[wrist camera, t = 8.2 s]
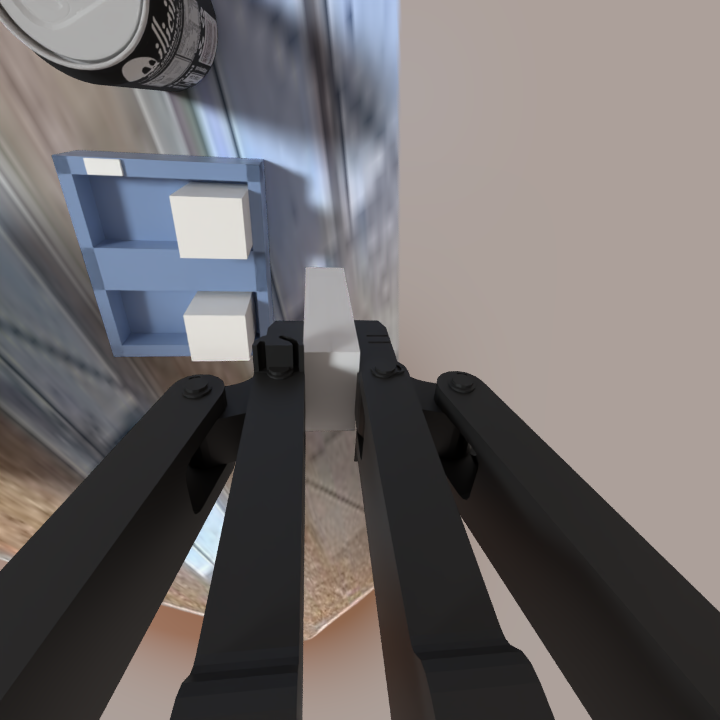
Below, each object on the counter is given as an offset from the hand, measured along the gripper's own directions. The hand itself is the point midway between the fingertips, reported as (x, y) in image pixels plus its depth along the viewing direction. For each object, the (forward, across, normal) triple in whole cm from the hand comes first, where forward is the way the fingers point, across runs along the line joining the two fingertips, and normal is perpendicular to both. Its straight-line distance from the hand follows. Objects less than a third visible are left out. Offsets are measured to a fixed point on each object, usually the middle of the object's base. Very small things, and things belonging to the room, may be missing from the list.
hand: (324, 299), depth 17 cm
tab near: (+15, -7, 0) cm, 16 cm away
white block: (+15, -7, -7) cm, 18 cm away
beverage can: (+16, -9, +10) cm, 21 cm away
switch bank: (+16, -10, -4) cm, 19 cm away
